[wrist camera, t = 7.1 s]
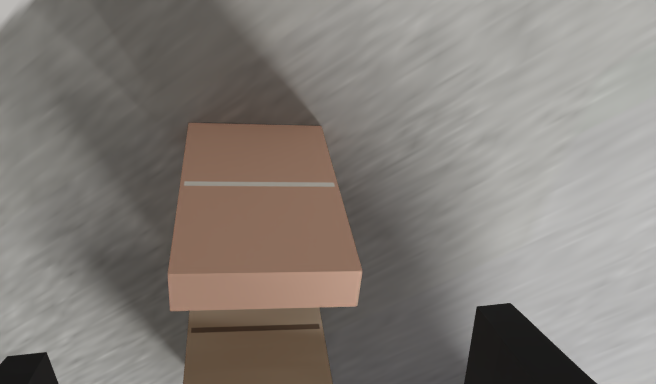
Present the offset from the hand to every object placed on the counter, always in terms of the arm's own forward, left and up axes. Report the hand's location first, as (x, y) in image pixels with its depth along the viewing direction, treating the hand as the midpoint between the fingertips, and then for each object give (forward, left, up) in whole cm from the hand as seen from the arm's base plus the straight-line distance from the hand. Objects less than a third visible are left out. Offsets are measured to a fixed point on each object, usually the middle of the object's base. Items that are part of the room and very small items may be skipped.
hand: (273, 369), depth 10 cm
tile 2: (-5, +1, -10) cm, 11 cm away
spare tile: (0, 0, -10) cm, 10 cm away
